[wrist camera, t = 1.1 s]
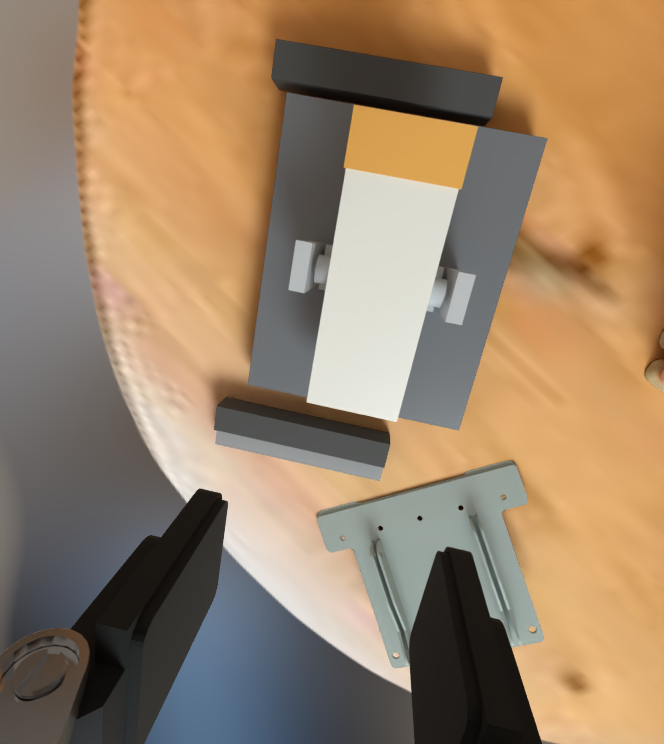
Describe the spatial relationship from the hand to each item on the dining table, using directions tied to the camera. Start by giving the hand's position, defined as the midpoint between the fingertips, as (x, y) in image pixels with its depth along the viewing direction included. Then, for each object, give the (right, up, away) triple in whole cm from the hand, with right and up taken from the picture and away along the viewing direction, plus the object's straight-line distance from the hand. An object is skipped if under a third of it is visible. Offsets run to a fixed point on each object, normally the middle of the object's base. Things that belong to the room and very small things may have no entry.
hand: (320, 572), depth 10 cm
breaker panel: (+3, +11, +17) cm, 20 cm away
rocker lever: (+3, +10, +12) cm, 16 cm away
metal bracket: (+8, -9, +23) cm, 26 cm away
